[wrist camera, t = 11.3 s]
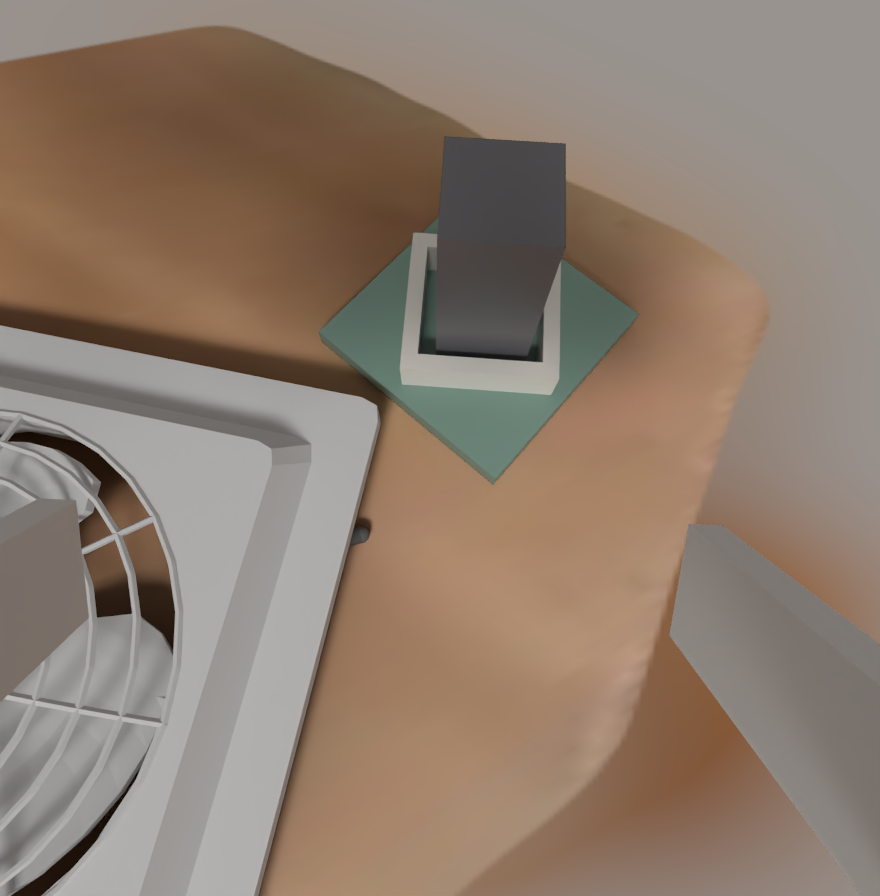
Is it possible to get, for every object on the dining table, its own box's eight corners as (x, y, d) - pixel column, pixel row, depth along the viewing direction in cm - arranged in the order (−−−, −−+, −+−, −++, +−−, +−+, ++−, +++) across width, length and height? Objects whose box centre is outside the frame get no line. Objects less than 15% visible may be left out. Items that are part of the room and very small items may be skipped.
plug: (435, 362, 30) (437, 239, 20) (441, 283, 31) (445, 132, 22) (522, 367, 30) (565, 247, 20) (524, 288, 31) (565, 139, 22)
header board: (322, 342, 31) (310, 312, 28) (465, 204, 34) (469, 163, 31) (493, 484, 29) (500, 468, 26) (631, 325, 32) (652, 293, 29)
